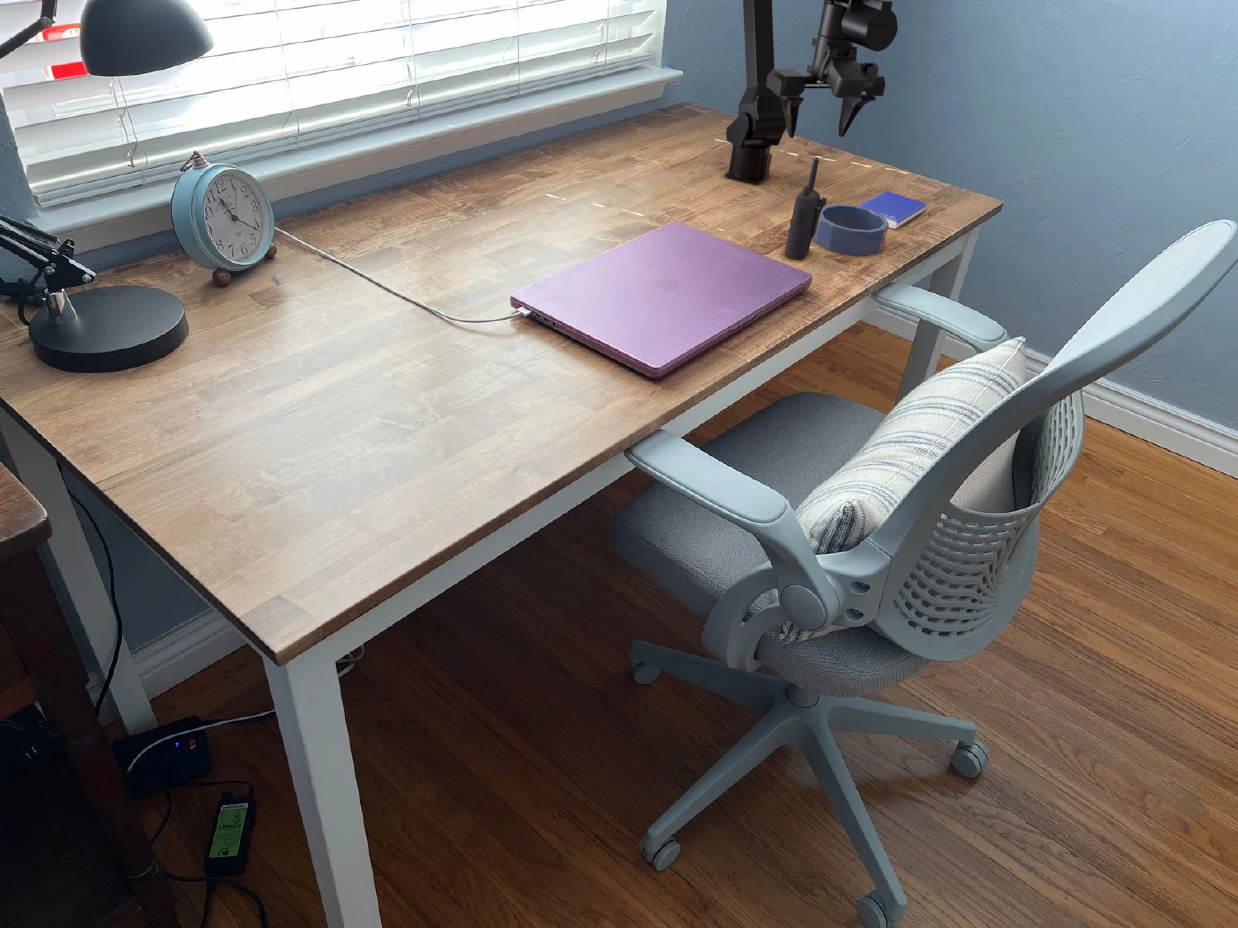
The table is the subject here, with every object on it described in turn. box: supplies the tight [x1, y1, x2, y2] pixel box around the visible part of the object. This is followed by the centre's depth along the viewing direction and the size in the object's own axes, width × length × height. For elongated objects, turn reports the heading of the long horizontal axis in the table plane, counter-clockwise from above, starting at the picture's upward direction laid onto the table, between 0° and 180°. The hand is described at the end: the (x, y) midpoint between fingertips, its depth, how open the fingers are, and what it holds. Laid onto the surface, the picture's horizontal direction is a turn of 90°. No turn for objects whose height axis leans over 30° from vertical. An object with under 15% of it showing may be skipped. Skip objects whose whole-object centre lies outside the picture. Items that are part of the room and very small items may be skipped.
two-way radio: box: [784, 156, 828, 260], centre depth 145 cm, size 6×4×15 cm
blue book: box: [858, 190, 928, 230], centre depth 167 cm, size 2×8×12 cm
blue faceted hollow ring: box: [813, 203, 889, 257], centre depth 155 cm, size 11×11×4 cm
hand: (816, 136), depth 156 cm, fingers open, 9 cm apart
